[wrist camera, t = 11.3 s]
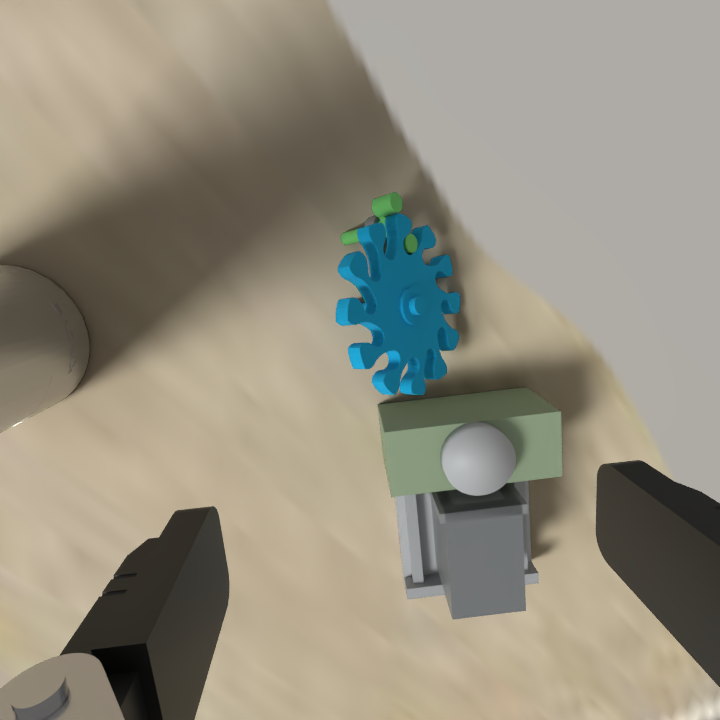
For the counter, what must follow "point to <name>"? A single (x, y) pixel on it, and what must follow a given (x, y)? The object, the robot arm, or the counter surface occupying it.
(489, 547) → the grey lidded bin
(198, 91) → the counter surface
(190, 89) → the counter surface
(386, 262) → the gear
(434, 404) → the drawer with ball knob
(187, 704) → the robot arm
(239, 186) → the counter surface
